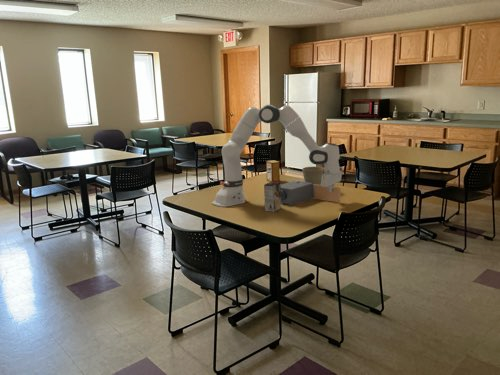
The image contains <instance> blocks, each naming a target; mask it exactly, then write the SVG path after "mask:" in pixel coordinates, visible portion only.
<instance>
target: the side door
mask: <svg viewBox="0 0 500 375" xmlns="http://www.w3.org/2000/svg"><path fill="white" fill-rule="evenodd" d="M312 199H319V200H324V201H331V202H337V203H341V187H339V186H338V187H337V186H334V189H333V191H332V192H329V188H328V187H322V186H321V185H317V184H313V198H312Z"/></svg>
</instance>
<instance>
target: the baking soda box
mask: <svg viewBox="0 0 500 375" xmlns="http://www.w3.org/2000/svg"><path fill="white" fill-rule="evenodd" d="M265 162H266V163H265V164H266V165H265V166H266V168H265V169H266V181H267V182H268V183H270V182H280V181H281V179H280V161H277V160H266V161H265ZM280 183H281V182H280Z"/></svg>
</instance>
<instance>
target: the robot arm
mask: <svg viewBox="0 0 500 375" xmlns="http://www.w3.org/2000/svg"><path fill="white" fill-rule="evenodd" d="M276 121H277V122H280V123H281V124H282V126H283V127H284V128H285V130H286V132H288V133H289V134H290V135H291V136H292V137H295V138H297V139H299V140H300V141H301V142H302V143H303V144H304V146H305V147H306V149H308V151H309V155H308V160H309V161H310V163H311V164H314V165H324V167H323V168H324V172H323V175H322V180H321V186H322V187H328V188H329V192H332V191H333V189H334V187H336V186H335V184H337V183H340V182H341V181H342V177H343V176H342V172H343V167H342V166H340V163H339V159H340V148H339V145H338V144H337V143H334V142H326V143H325V144H324V145H323V144H322V145H319V144H318V143H317V142H316V141H315V140H314V138H313V137H312V136H311V134H310V133H309V131H308V129H307V127H306V126H305V123H304V121H303V120H302V118H301V117H300V115H299V114H298V113H297V112H296V111H295V109H293V108H292V107H291V106H290V105H286V104H285V105H283V106H281V107H277V106H276V105H274V104H266V105H264V106H262V107H261V108H260V109H259V108H258V107H255V106H250V107H248V108H247V109H246V111H245V112H244V113H243V114H242V116H241V117H240V119H239V121H238V122H237V124H236V126H235V127H234V129H233V131H232V134H231V136H230V137H229V139H228V140H227V142H226V143H224V144H223V146H222V148H221V156H222V163H223V168H224V181H220V182H219V184H220V185H222V187H221V188H220V189H219V190H218V191H217V192H216V194H215V200H213V201H212V202H211V204H212V205H214V206H216V207H221V208H222V207H225V208H227V207H231V206H232V207H233V206H237V205H242V204H245V203H246V198H245V193H244V189H243V188H244V186H243V184H244V180H243V172H242V171H243V170H242V164H241V163H242V162H241V157H240V155H241V154H242V152H244V149H245V147H246V146H247V144H248V142H249V140H250V139H251V136H252V135H253V133H254V131H255V130H256V128H257V126H258V125H259V124H260V122H263V123H265V124H272V123H274V122H276Z"/></svg>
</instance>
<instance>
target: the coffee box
mask: <svg viewBox="0 0 500 375" xmlns="http://www.w3.org/2000/svg"><path fill="white" fill-rule="evenodd" d="M280 185H281V182H267V183H265V184H264V185H263V188H264V211H267V212H273V213H274V212H277V211H278V210H280V209H281V208H282V203H281V187H280Z"/></svg>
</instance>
